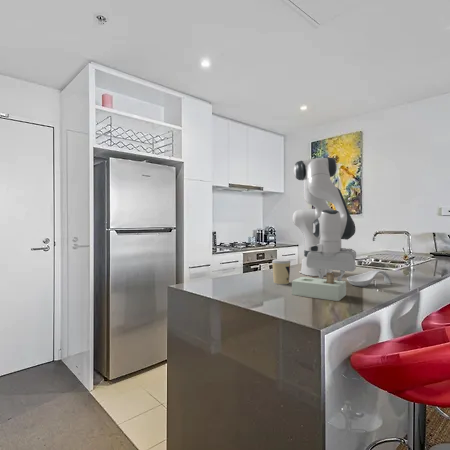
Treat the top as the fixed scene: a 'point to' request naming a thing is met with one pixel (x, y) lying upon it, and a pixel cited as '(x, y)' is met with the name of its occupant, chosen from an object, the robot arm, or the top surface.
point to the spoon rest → (367, 278)
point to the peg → (330, 278)
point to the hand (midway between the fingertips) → (330, 279)
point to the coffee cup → (281, 271)
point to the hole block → (319, 288)
